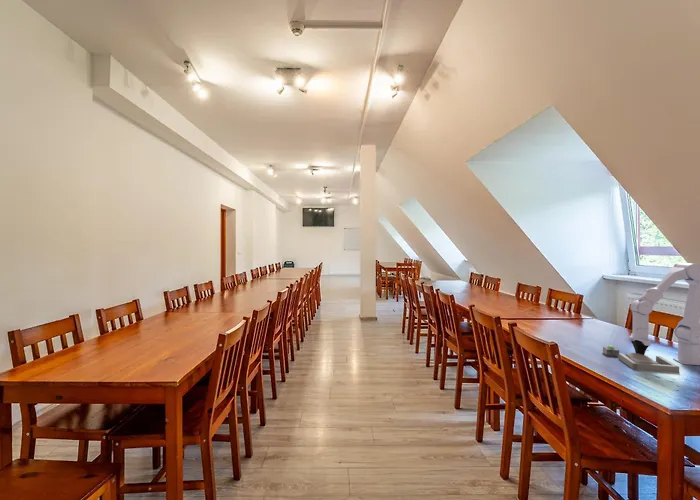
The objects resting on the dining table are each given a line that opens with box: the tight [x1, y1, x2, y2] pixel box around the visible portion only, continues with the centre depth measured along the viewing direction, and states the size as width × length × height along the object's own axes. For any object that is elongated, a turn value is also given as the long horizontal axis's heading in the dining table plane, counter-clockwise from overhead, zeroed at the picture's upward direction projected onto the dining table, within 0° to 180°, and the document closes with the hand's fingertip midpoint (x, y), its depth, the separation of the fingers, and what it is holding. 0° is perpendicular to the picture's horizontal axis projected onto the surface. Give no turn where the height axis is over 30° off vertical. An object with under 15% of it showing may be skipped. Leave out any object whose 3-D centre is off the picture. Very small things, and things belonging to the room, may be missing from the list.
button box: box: [602, 346, 620, 358], centre depth 179 cm, size 5×5×3 cm
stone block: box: [625, 352, 660, 365], centre depth 164 cm, size 12×5×10 cm
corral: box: [617, 352, 680, 374], centre depth 164 cm, size 16×16×2 cm
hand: (639, 357), depth 170 cm, fingers closed
